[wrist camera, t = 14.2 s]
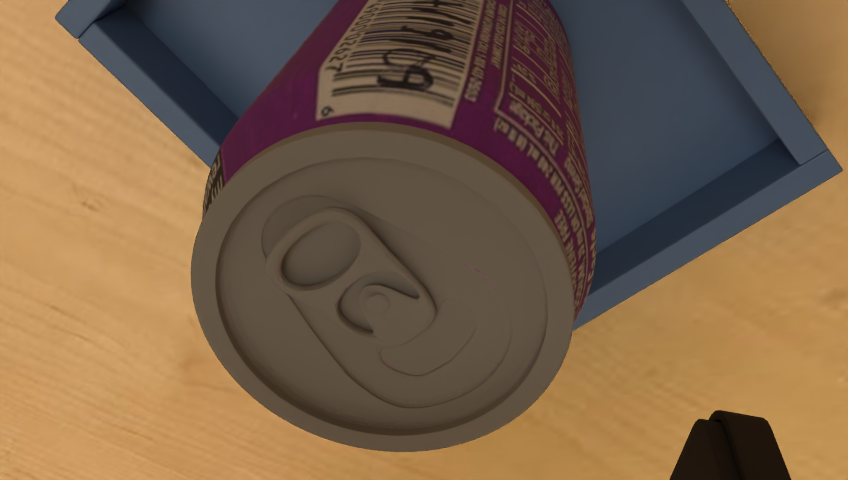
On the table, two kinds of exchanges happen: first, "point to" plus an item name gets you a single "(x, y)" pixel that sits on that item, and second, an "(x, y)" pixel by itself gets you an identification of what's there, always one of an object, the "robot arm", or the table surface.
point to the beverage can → (402, 224)
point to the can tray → (597, 97)
